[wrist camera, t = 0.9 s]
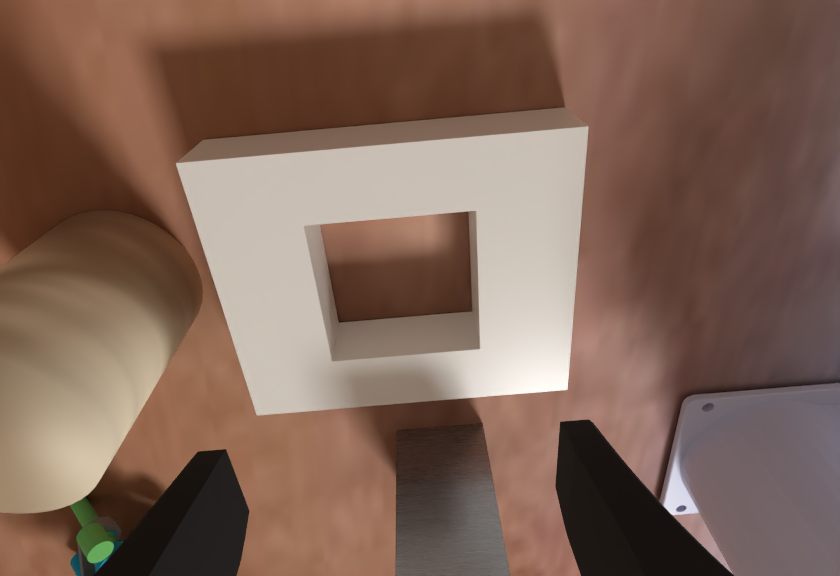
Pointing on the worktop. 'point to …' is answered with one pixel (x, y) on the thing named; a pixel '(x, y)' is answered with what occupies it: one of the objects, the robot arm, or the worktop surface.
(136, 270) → the round peg
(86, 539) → the gear
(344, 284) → the worktop surface
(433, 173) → the socket block
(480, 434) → the square peg
